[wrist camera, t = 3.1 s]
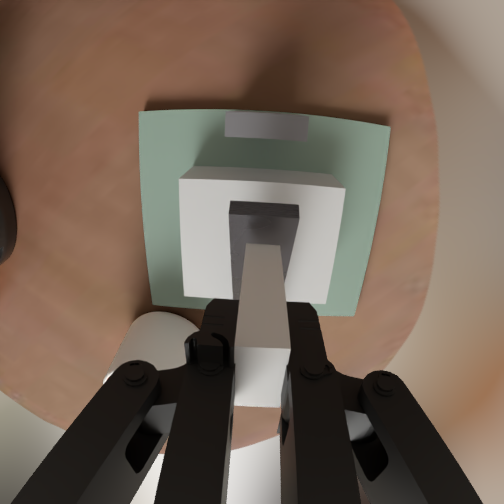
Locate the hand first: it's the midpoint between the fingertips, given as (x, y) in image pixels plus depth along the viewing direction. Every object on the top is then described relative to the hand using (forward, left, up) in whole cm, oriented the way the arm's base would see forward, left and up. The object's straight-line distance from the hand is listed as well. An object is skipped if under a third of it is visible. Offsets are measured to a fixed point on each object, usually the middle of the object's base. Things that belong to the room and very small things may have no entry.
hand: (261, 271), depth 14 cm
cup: (-10, -19, -16) cm, 27 cm away
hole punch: (0, -3, -15) cm, 16 cm away
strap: (0, -4, -5) cm, 6 cm away
